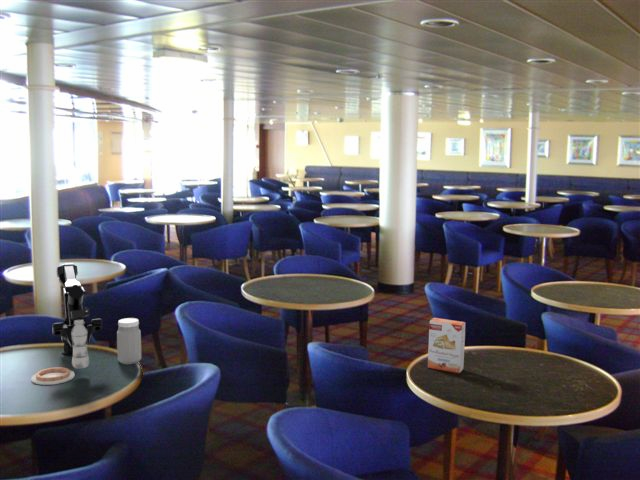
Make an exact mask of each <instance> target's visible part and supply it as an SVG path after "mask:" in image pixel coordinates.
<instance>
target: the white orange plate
mask: <svg viewBox="0 0 640 480" xmlns="http://www.w3.org/2000/svg"><path fill="white" fill-rule="evenodd" d="M75 376H76V374H75V372H74V371H73V370H70V369H69V368H68V367H62V366H59V367H58V366H57V367H48V368H47V367H46V368H45V369H41V370H39V371H37V372H36V373H35V374H33V375H32V376H31V378H30V379H31V383H33V384H35V385H39V386H54V385H59V384H63V383H66V382H69V381H71V380H73V379H74V378H75Z"/></svg>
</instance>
